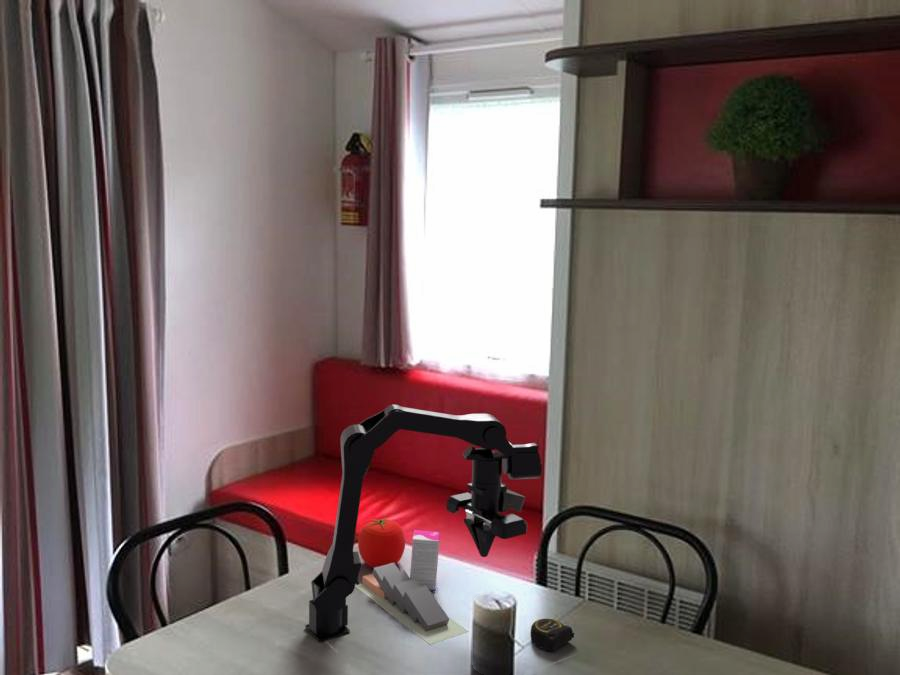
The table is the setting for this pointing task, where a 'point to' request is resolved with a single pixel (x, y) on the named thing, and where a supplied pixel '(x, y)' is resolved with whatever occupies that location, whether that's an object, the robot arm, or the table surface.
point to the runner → (428, 636)
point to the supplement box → (425, 558)
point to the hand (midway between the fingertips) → (484, 556)
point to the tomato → (381, 542)
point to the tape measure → (550, 634)
